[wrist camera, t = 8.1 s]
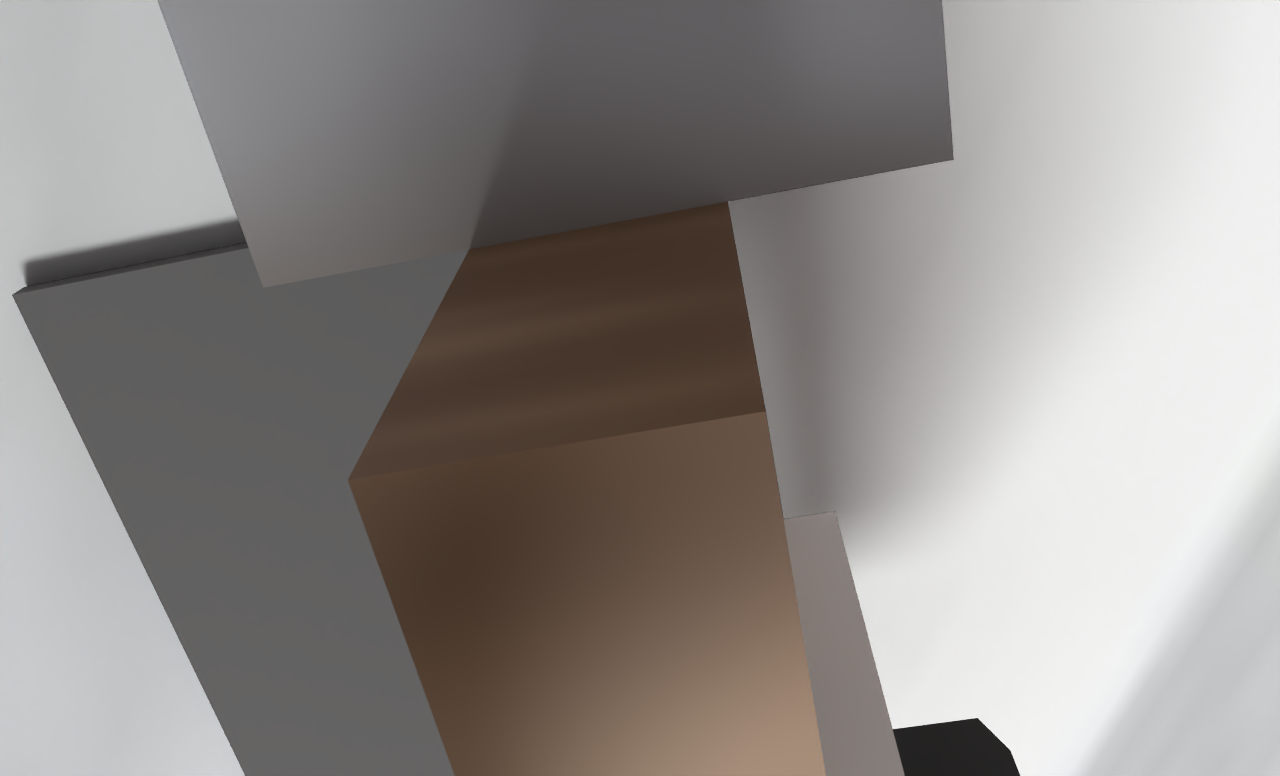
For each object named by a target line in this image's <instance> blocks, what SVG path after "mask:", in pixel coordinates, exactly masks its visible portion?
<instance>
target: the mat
mask: <svg viewBox="0 0 1280 776" xmlns="http://www.w3.org/2000/svg"><path fill="white" fill-rule="evenodd" d="M467 252H468V250H464V251H458V252H453V253H448V254H442V255H437V256H431V257H426V258H421V259H415V260H410V261H404V262H399V263H394V264H388V265H383V266H378V267H372V268H367V269H361V270H356V271H351V272H345V273H340V274H334V275H329V276H324V277H318V278H313V279H308V280H302V281H297V282H291V283H286V284H281V285H275V286H270V287H264V288H263V285H262V283H261V280H260V277H259V275H258V272H257V269H256V266H255V264H254V261H253V258H252V256H251V253H250V250H249V247H248V245H247V243H242V244H237V245H232V246H227V247H222V248H217V249H212V250H207V251H202V252H197V253H192V254H187V255H182V256H177V257H172V258H167V259H162V260H157V261H152V262H147V263H142V264H137V265H132V266H127V267H122V268H117V269H112V270H107V271H102V272H97V273H92V274H87V275H82V276H77V277H72V278H67V279H62V280H57V281H52V282H47V283H42V284H37V285H32V286H27V287H24V288H22V289H21V290H19V291H18V292H16V293H14V294H13V295H12V296H13V298H14V300H15V302H16V304H17V306H18V308H19V310H20V312H21V314H22V316H23V318H24V321H25V323H26V325H27V327H28V329H29V331H30V333H31V335H32V337H33V339H34V341H35V343H36V345H37V347H38V349H39V351H40V353H41V356H42V358H43V360H44V362H45V364H46V366H47V368H48V370H49V372H50V374H51V376H52V378H53V380H54V382H55V384H56V386H57V389H58V391H59V393H60V395H61V397H62V399H63V401H64V403H65V405H66V407H67V409H68V411H69V413H70V415H71V417H72V419H73V421H74V424H75V426H76V428H77V430H78V432H79V434H80V436H81V438H82V440H83V442H84V444H85V446H86V448H87V450H88V452H89V454H90V456H91V459H92V461H93V463H94V465H95V467H96V469H97V471H98V473H99V475H100V477H101V479H102V481H103V483H104V485H105V487H106V489H107V492H108V494H109V496H110V498H111V500H112V502H113V504H114V506H115V508H116V510H117V512H118V514H119V516H120V518H121V520H122V522H123V524H124V527H125V529H126V531H127V533H128V535H129V537H130V539H131V541H132V543H133V545H134V547H135V549H136V551H137V553H138V555H139V557H140V560H141V562H142V564H143V566H144V568H145V570H146V572H147V574H148V576H149V578H150V580H151V582H152V584H153V586H154V588H155V590H156V592H157V595H158V597H159V599H160V601H161V603H162V605H163V607H164V609H165V611H166V613H167V615H168V617H169V619H170V621H171V623H172V625H173V627H174V630H175V632H176V634H177V636H178V638H179V640H180V642H181V644H182V646H183V648H184V650H185V652H186V654H187V656H188V658H189V660H190V663H191V665H192V667H193V669H194V671H195V673H196V675H197V677H198V679H199V681H200V683H201V685H202V687H203V689H204V691H205V693H206V695H207V698H208V700H209V702H210V704H211V706H212V708H213V710H214V712H215V714H216V716H217V718H218V720H219V722H220V724H221V726H222V728H223V730H224V733H225V735H226V737H227V739H228V741H229V743H230V745H231V747H232V749H233V751H234V753H235V755H236V757H237V759H238V761H239V763H240V766H241V768H242V770H243V772H244V774H245V776H455V775H454V772H453V770H452V767H451V764H450V761H449V759H448V756H447V753H446V750H445V748H444V745H443V742H442V739H441V737H440V734H439V731H438V728H437V725H436V723H435V720H434V717H433V714H432V712H431V709H430V706H429V703H428V701H427V698H426V695H425V692H424V690H423V687H422V684H421V681H420V679H419V676H418V673H417V670H416V667H415V665H414V662H413V659H412V656H411V654H410V651H409V648H408V645H407V643H406V640H405V637H404V634H403V632H402V629H401V626H400V623H399V621H398V618H397V615H396V612H395V610H394V607H393V604H392V601H391V598H390V596H389V593H388V590H387V587H386V585H385V582H384V579H383V576H382V574H381V571H380V568H379V565H378V563H377V560H376V557H375V554H374V552H373V549H372V546H371V543H370V541H369V538H368V535H367V532H366V529H365V527H364V524H363V521H362V518H361V516H360V513H359V510H358V507H357V505H356V502H355V499H354V496H353V494H352V491H351V488H350V485H349V483H348V478H349V476H350V474H351V473H352V471H353V469H354V467H355V465H356V463H357V461H358V459H359V457H360V455H361V454H362V452H363V450H364V448H365V446H366V444H367V442H368V440H369V438H370V437H371V435H372V433H373V431H374V429H375V427H376V425H377V423H378V421H379V419H380V418H381V416H382V414H383V412H384V410H385V408H386V406H387V404H388V402H389V400H390V399H391V397H392V395H393V393H394V391H395V389H396V387H397V385H398V383H399V381H400V380H401V378H402V376H403V374H404V372H405V370H406V368H407V366H408V364H409V362H410V361H411V359H412V357H413V355H414V353H415V351H416V349H417V347H418V345H419V343H420V342H421V340H422V338H423V336H424V334H425V332H426V330H427V328H428V326H429V325H430V323H431V321H432V319H433V317H434V315H435V313H436V311H437V309H438V307H439V306H440V304H441V302H442V300H443V298H444V296H445V294H446V292H447V290H448V288H449V287H450V285H451V283H452V281H453V279H454V277H455V275H456V273H457V271H458V269H459V268H460V266H461V264H462V262H463V260H464V258H465V256H466V254H467Z"/></svg>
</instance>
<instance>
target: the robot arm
mask: <svg viewBox="0 0 1280 776" xmlns="http://www.w3.org/2000/svg"><path fill="white" fill-rule="evenodd" d="M784 525H785V531H786V537H787V543H788V549H789V555H790V561H791V567H792V573H793V579H794V585H795V591H796V597H797V603H798V609H799V615H800V621H801V628H802V634H803V640H804V646H805V652H806V658H807V664H808V670H809V676H810V682H811V688H812V694H813V700H814V706H815V712H816V718H817V724H818V730H819V736H820V742H821V748H822V754H823V760H824V766H825V772H826V776H1020V774H1019V772H1018V769H1017V766H1016V764H1015V761H1014V759H1013V756H1012V754H1011V751H1010V750H1009V749H1008V748H1007V747H1006V746H1005V745H1004V744H1003V743H1002V742H1001V741H1000V740H999V739H998V738H997V737H996V736H995V735H994V734H993V733H992V732H991V731H990V730H989V729H988V728H987V727H986V726H985V725H984V724H983V723H982V722H981V721H980V720H979V719H978V718H975V719H967V720H960V721H952V722H945V723H937V724H930V725H922V726H915V727H907V728H900V729H892V725H891V722H890V718H889V714H888V710H887V707H886V703H885V699H884V695H883V691H882V688H881V684H880V680H879V676H878V672H877V669H876V665H875V661H874V657H873V653H872V650H871V646H870V642H869V638H868V634H867V631H866V627H865V623H864V619H863V615H862V612H861V608H860V604H859V600H858V596H857V593H856V589H855V585H854V581H853V577H852V574H851V570H850V566H849V562H848V558H847V555H846V551H845V547H844V543H843V539H842V536H841V532H840V528H839V524H838V520H837V517H836V513H835V511H833V512H826V513H820V514H813V515H807V516H800V517H794V518H787V519H784Z"/></svg>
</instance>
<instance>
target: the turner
mask: <svg viewBox="0 0 1280 776" xmlns="http://www.w3.org/2000/svg"><path fill="white" fill-rule="evenodd" d="M158 3H159V6H160V9H161V11H162V14H163V17H164V19H165V22H166V25H167V28H168V30H169V33H170V36H171V38H172V41H173V44H174V47H175V49H176V52H177V55H178V57H179V60H180V63H181V66H182V68H183V71H184V74H185V76H186V79H187V82H188V85H189V87H190V90H191V93H192V95H193V98H194V101H195V104H196V106H197V109H198V112H199V114H200V117H201V120H202V123H203V125H204V128H205V131H206V133H207V136H208V139H209V142H210V144H211V147H212V150H213V152H214V155H215V158H216V161H217V163H218V166H219V169H220V171H221V174H222V177H223V180H224V182H225V185H226V188H227V190H228V193H229V196H230V199H231V201H232V204H233V207H234V209H235V212H236V215H237V218H238V220H239V223H240V226H241V228H242V231H243V234H244V237H245V239H246V242H247V245H248V247H249V250H250V253H251V256H252V258H253V261H254V264H255V266H256V269H257V272H258V275H259V277H260V280H261V283H262V285H263V288H264V287H270V286H275V285H281V284H286V283H291V282H297V281H302V280H308V279H313V278H318V277H324V276H329V275H334V274H340V273H345V272H351V271H356V270H361V269H367V268H372V267H378V266H383V265H388V264H394V263H399V262H404V261H410V260H415V259H421V258H426V257H431V256H437V255H442V254H448V253H453V252H458V251H464V250H468V252H467V254H466V256H465V258H464V260H463V262H462V264H461V266H460V268H459V269H458V271H457V273H456V275H455V277H454V279H453V281H452V283H451V285H450V287H449V288H448V290H447V292H446V294H445V296H444V298H443V300H442V302H441V304H440V306H439V307H438V309H437V311H436V313H435V315H434V317H433V319H432V321H431V323H430V325H429V326H428V328H427V330H426V332H425V334H424V336H423V338H422V340H421V342H420V343H419V345H418V347H417V349H416V351H415V353H414V355H413V357H412V359H411V361H410V362H409V364H408V366H407V368H406V370H405V372H404V374H403V376H402V378H401V380H400V381H399V383H398V385H397V387H396V389H395V391H394V393H393V395H392V397H391V399H390V400H389V402H388V404H387V406H386V408H385V410H384V412H383V414H382V416H381V418H380V419H379V421H378V423H377V425H376V427H375V429H374V431H373V433H372V435H371V437H370V438H369V440H368V442H367V444H366V446H365V448H364V450H363V452H362V454H361V455H360V457H359V459H358V461H357V463H356V465H355V467H354V469H353V471H352V473H351V474H350V476H349V478H348V483H349V485H350V488H351V491H352V494H353V496H354V499H355V502H356V505H357V507H358V510H359V513H360V516H361V518H362V521H363V524H364V527H365V529H366V532H367V535H368V538H369V541H370V543H371V546H372V549H373V552H374V554H375V557H376V560H377V563H378V565H379V568H380V571H381V574H382V576H383V579H384V582H385V585H386V587H387V590H388V593H389V596H390V598H391V601H392V604H393V607H394V610H395V612H396V615H397V618H398V621H399V623H400V626H401V629H402V632H403V634H404V637H405V640H406V643H407V645H408V648H409V651H410V654H411V656H412V659H413V662H414V665H415V667H416V670H417V673H418V676H419V679H420V681H421V684H422V687H423V690H424V692H425V695H426V698H427V701H428V703H429V706H430V709H431V712H432V714H433V717H434V720H435V723H436V725H437V728H438V731H439V734H440V737H441V739H442V742H443V745H444V748H445V750H446V753H447V756H448V759H449V761H450V764H451V767H452V770H453V772H454V775H455V776H826V772H825V766H824V760H823V754H822V748H821V742H820V736H819V730H818V724H817V718H816V712H815V706H814V700H813V694H812V688H811V682H810V676H809V670H808V664H807V658H806V652H805V646H804V640H803V634H802V628H801V621H800V615H799V609H798V603H797V597H796V591H795V585H794V579H793V573H792V567H791V561H790V555H789V549H788V543H787V537H786V531H785V525H784V519H783V513H782V507H781V501H780V495H779V489H778V483H777V477H776V471H775V465H774V459H773V453H772V446H771V440H770V434H769V428H768V422H767V416H766V410H765V405H764V399H763V394H762V388H761V383H760V377H759V372H758V366H757V361H756V355H755V350H754V344H753V339H752V333H751V328H750V322H749V317H748V311H747V306H746V300H745V295H744V289H743V284H742V278H741V273H740V267H739V262H738V256H737V251H736V245H735V240H734V234H733V229H732V223H731V218H730V212H729V207H728V201H733V200H738V199H744V198H749V197H755V196H760V195H765V194H771V193H776V192H782V191H787V190H792V189H798V188H803V187H808V186H814V185H819V184H825V183H830V182H835V181H841V180H846V179H852V178H857V177H862V176H868V175H873V174H879V173H884V172H889V171H895V170H900V169H905V168H911V167H916V166H922V165H927V164H932V163H938V162H943V161H949V160H954V159H953V146H952V132H951V119H950V105H949V92H948V78H947V65H946V51H945V38H944V24H943V11H942V0H158Z"/></svg>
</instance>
